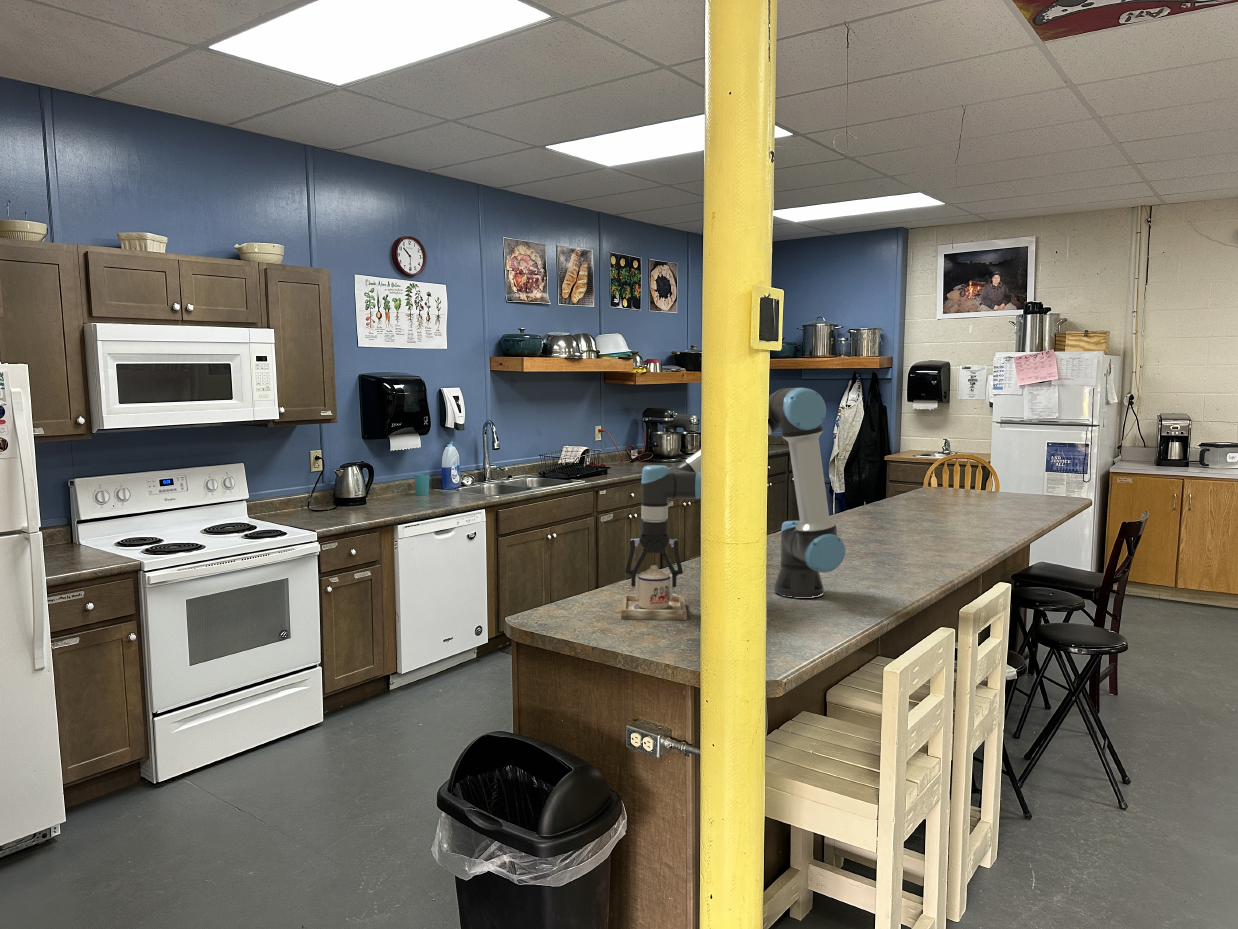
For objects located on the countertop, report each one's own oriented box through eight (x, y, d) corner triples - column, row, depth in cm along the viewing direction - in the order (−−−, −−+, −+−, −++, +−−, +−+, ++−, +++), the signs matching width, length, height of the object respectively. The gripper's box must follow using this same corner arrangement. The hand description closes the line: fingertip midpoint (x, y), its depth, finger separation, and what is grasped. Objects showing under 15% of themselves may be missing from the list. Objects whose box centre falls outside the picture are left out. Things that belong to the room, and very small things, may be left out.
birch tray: (683, 604, 244) (683, 595, 244) (686, 620, 227) (686, 611, 227) (622, 603, 245) (622, 594, 244) (621, 619, 228) (621, 610, 228)
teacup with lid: (651, 612, 229) (651, 570, 228) (631, 605, 236) (631, 565, 235) (684, 605, 236) (684, 565, 235) (663, 598, 243) (663, 559, 242)
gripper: (692, 518, 237) (690, 595, 239) (616, 517, 238) (616, 594, 240) (693, 522, 230) (692, 601, 232) (615, 521, 230) (615, 600, 232)
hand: (653, 597), depth 236 cm, fingers closed on teacup with lid, 9 cm apart
